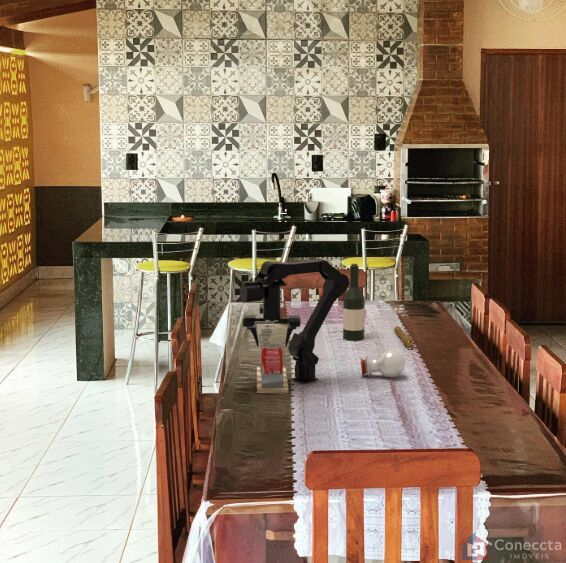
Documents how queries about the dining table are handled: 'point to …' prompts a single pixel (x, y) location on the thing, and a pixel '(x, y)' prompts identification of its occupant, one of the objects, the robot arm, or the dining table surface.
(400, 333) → the tap handle
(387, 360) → the potion bottle
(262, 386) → the cradle
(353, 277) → the wine bottle
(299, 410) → the dining table surface
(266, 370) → the soda can
